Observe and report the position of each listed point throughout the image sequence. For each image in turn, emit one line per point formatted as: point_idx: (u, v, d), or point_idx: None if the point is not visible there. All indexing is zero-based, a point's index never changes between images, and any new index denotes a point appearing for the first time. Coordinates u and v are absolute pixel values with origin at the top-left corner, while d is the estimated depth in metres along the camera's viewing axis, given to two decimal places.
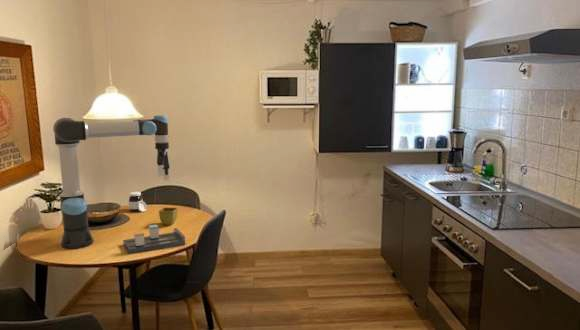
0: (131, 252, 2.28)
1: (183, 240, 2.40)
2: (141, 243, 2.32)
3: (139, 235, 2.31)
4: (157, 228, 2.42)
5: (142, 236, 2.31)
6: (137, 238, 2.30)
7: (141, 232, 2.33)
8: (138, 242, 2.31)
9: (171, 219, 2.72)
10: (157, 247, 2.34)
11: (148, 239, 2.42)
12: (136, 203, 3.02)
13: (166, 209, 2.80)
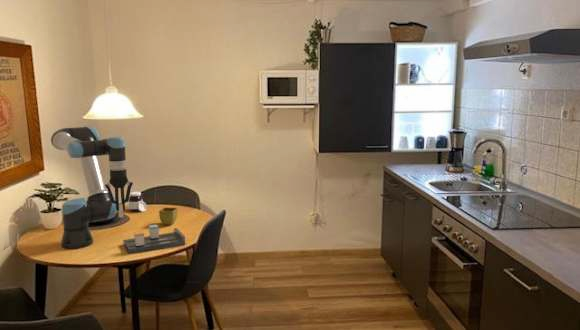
0: (131, 252, 2.28)
1: (183, 240, 2.40)
2: (141, 243, 2.32)
3: (139, 235, 2.31)
4: (157, 228, 2.42)
5: (142, 236, 2.31)
6: (137, 238, 2.30)
7: (141, 232, 2.33)
8: (138, 242, 2.31)
9: (171, 219, 2.72)
10: (157, 247, 2.34)
11: (148, 239, 2.42)
12: (136, 203, 3.02)
13: (166, 209, 2.80)
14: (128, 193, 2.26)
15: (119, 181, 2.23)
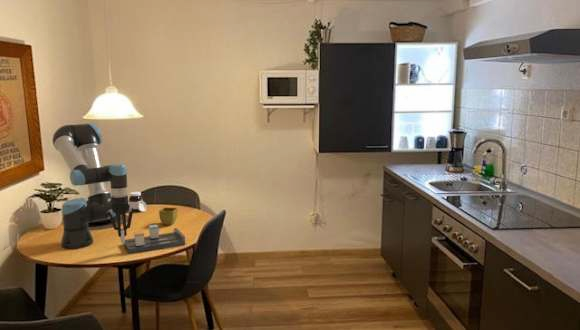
0: (131, 252, 2.28)
1: (183, 240, 2.40)
2: (141, 243, 2.32)
3: (139, 235, 2.31)
4: (157, 228, 2.42)
5: (142, 236, 2.31)
6: (137, 238, 2.30)
7: (141, 232, 2.33)
8: (138, 242, 2.31)
9: (171, 219, 2.72)
10: (157, 247, 2.34)
11: (148, 239, 2.42)
12: (136, 203, 3.02)
13: (166, 209, 2.80)
14: (130, 219, 2.28)
15: (121, 208, 2.25)
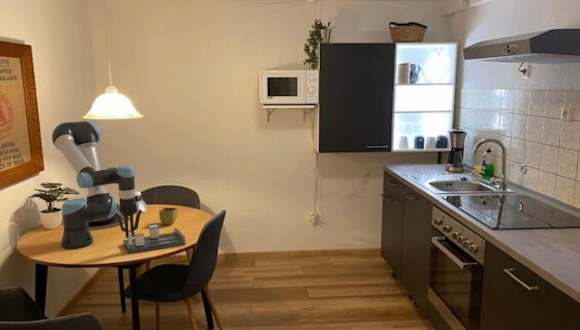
0: (131, 252, 2.28)
1: (183, 240, 2.40)
2: (141, 243, 2.32)
3: (139, 235, 2.31)
4: (157, 228, 2.42)
5: (142, 236, 2.31)
6: (137, 238, 2.30)
7: (141, 232, 2.33)
8: (138, 242, 2.31)
9: (171, 219, 2.72)
10: (157, 247, 2.34)
11: (148, 239, 2.42)
12: (136, 203, 3.02)
13: (166, 209, 2.80)
14: (137, 221, 2.30)
15: (128, 209, 2.27)
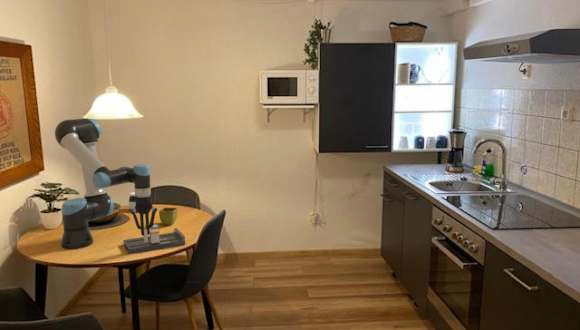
0: (131, 252, 2.28)
1: (183, 240, 2.40)
2: (156, 241, 2.35)
3: (154, 233, 2.34)
4: (157, 228, 2.42)
5: (157, 234, 2.35)
6: (152, 236, 2.34)
7: (156, 230, 2.37)
8: (153, 240, 2.34)
9: (171, 219, 2.72)
10: (157, 247, 2.34)
11: (148, 239, 2.42)
12: None
13: (166, 209, 2.80)
14: (152, 219, 2.33)
15: (144, 207, 2.30)
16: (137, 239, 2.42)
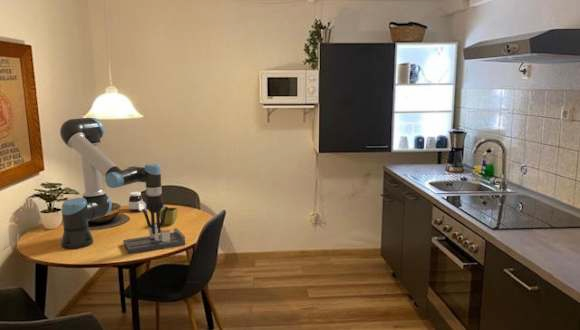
0: (131, 252, 2.28)
1: (183, 240, 2.40)
2: (167, 239, 2.38)
3: (165, 231, 2.37)
4: None
5: (168, 232, 2.37)
6: (163, 235, 2.36)
7: (167, 228, 2.39)
8: (164, 238, 2.37)
9: (171, 219, 2.72)
10: (157, 247, 2.34)
11: (148, 239, 2.42)
12: (136, 203, 3.02)
13: None
14: (163, 217, 2.36)
15: (155, 206, 2.33)
16: (137, 239, 2.42)
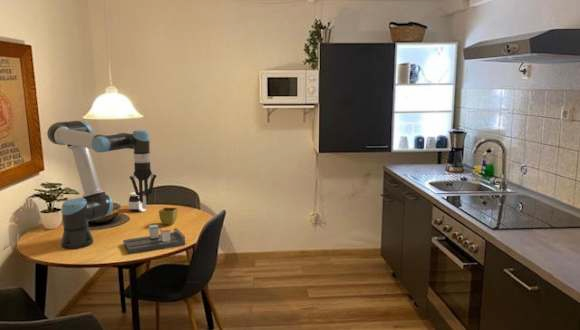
0: (131, 252, 2.28)
1: (183, 240, 2.40)
2: (167, 239, 2.38)
3: (165, 231, 2.37)
4: (157, 228, 2.42)
5: (168, 232, 2.37)
6: (163, 234, 2.36)
7: (167, 228, 2.39)
8: (164, 238, 2.37)
9: (171, 219, 2.72)
10: (157, 247, 2.34)
11: (148, 239, 2.42)
12: (136, 203, 3.02)
13: (166, 209, 2.80)
14: (151, 185, 2.32)
15: (143, 173, 2.29)
16: (137, 239, 2.42)
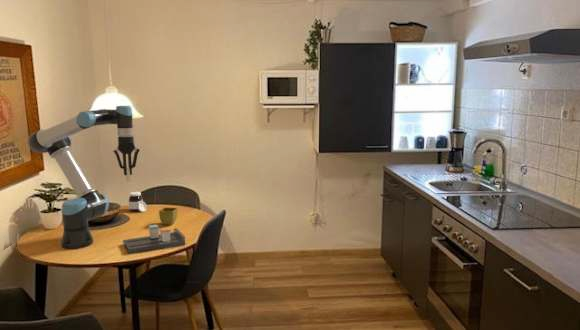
0: (131, 252, 2.28)
1: (183, 240, 2.40)
2: (167, 239, 2.38)
3: (165, 231, 2.37)
4: (157, 228, 2.42)
5: (168, 232, 2.37)
6: (163, 234, 2.36)
7: (167, 228, 2.39)
8: (164, 238, 2.37)
9: (171, 219, 2.72)
10: (157, 247, 2.34)
11: (148, 239, 2.42)
12: (136, 203, 3.02)
13: (166, 209, 2.80)
14: (135, 159, 2.41)
15: (127, 147, 2.38)
16: (137, 239, 2.42)
